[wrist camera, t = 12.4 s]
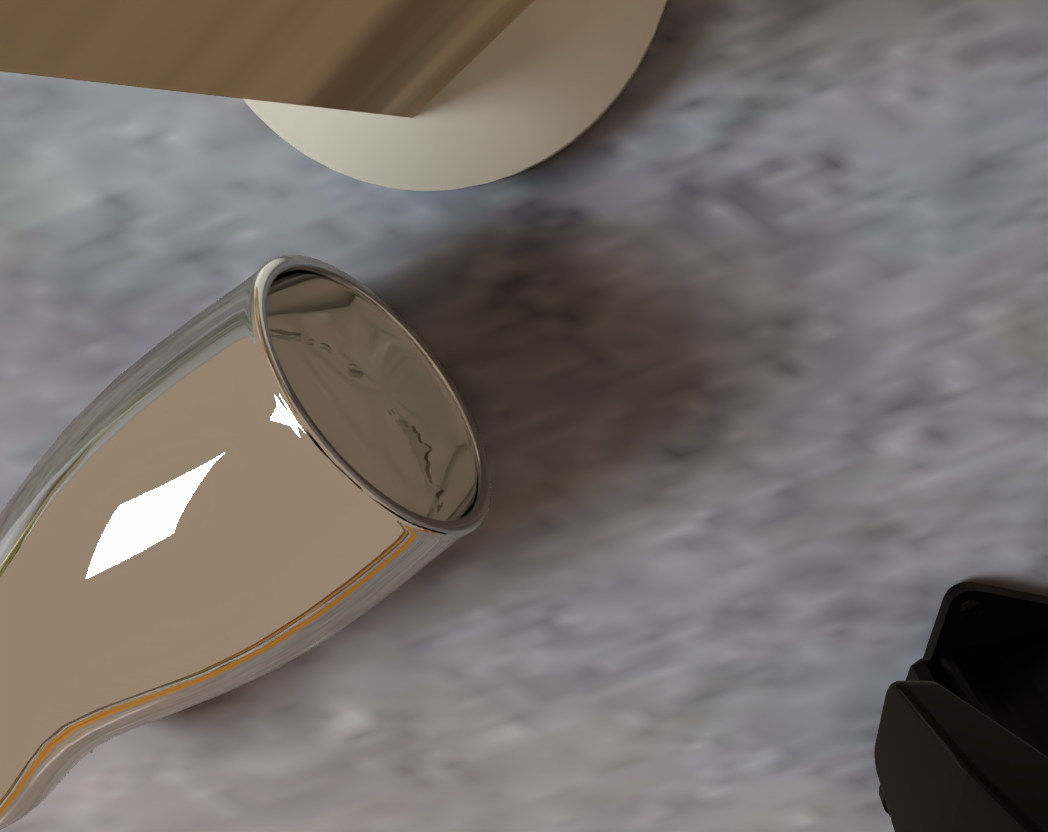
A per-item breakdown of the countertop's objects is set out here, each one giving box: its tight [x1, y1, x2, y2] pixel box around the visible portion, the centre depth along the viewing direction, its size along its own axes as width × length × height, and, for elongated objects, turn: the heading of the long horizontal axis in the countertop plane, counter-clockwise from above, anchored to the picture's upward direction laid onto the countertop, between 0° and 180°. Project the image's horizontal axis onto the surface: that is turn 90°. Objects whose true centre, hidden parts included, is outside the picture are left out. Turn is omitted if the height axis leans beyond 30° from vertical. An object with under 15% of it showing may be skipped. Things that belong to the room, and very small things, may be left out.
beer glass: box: [0, 255, 492, 830], centre depth 20 cm, size 7×7×15 cm
